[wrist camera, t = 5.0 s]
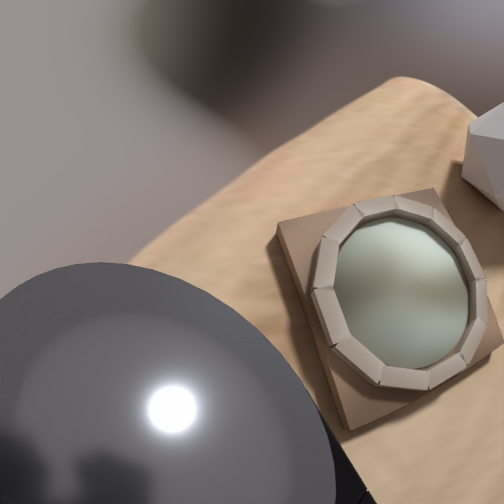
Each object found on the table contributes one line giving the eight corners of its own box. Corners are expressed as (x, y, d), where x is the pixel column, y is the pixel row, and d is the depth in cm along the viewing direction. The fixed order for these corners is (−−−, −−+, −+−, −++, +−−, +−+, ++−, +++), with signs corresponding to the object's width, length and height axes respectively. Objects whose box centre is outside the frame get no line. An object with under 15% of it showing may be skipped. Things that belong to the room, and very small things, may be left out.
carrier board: (493, 346, 16) (512, 339, 14) (343, 428, 14) (355, 432, 13) (426, 197, 21) (438, 181, 19) (276, 232, 19) (279, 214, 17)
